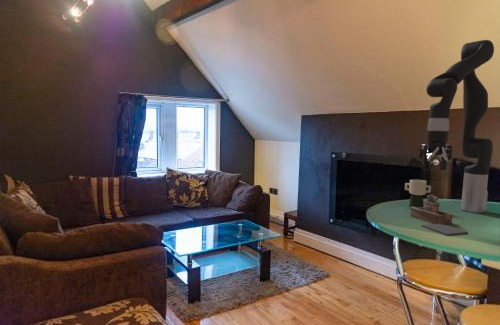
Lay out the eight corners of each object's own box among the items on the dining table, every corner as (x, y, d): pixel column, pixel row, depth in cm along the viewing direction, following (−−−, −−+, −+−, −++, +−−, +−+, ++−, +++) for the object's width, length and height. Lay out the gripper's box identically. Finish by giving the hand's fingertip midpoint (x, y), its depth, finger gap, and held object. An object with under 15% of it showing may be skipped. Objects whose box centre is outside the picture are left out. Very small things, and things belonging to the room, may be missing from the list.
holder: (425, 214, 149) (426, 205, 149) (451, 223, 137) (452, 213, 136) (410, 215, 146) (411, 206, 146) (435, 224, 134) (436, 214, 134)
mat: (442, 224, 134) (442, 223, 134) (467, 233, 124) (468, 231, 124) (421, 226, 131) (421, 225, 131) (446, 235, 120) (446, 233, 120)
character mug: (430, 208, 162) (432, 180, 160) (428, 211, 156) (430, 182, 154) (404, 205, 168) (406, 178, 166) (402, 207, 162) (404, 180, 160)
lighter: (420, 216, 146) (422, 193, 144) (428, 216, 146) (430, 193, 145) (432, 222, 138) (434, 197, 136) (440, 222, 138) (442, 197, 137)
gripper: (443, 130, 144) (440, 169, 145) (416, 129, 139) (413, 169, 141) (459, 130, 137) (455, 171, 138) (431, 129, 132) (427, 171, 134)
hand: (434, 170), depth 140 cm, fingers open, 8 cm apart
